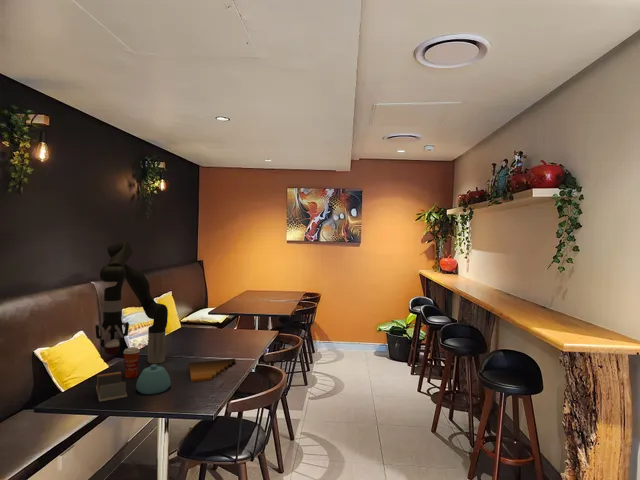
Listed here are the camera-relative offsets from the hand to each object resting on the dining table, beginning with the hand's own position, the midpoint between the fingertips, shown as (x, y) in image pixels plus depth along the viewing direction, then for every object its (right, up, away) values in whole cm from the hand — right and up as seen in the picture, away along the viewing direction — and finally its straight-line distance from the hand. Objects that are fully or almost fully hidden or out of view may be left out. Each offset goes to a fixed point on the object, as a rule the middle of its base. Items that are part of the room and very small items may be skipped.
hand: (112, 346), depth 186 cm
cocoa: (0, -3, 0) cm, 3 cm away
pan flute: (+39, -23, +31) cm, 55 cm away
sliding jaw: (-5, -20, +7) cm, 22 cm away
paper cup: (-1, -21, +22) cm, 31 cm away
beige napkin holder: (-1, -21, +1) cm, 21 cm away
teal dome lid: (+17, -22, +5) cm, 28 cm away
